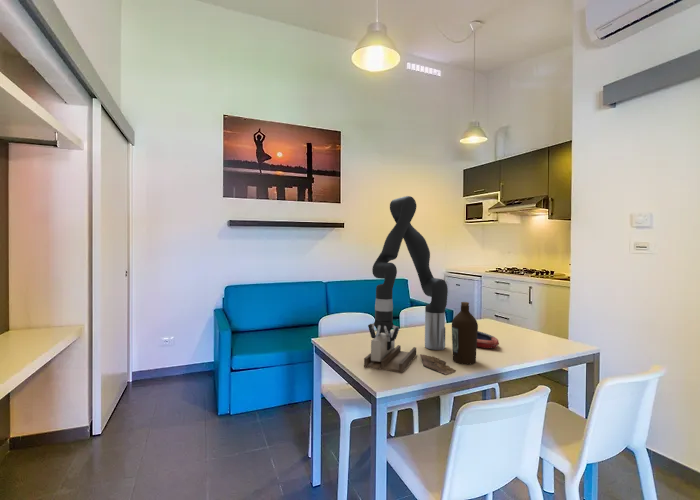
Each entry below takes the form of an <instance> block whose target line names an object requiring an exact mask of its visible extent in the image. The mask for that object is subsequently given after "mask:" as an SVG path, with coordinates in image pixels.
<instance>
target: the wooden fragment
mask: <svg viewBox="0 0 700 500" xmlns="http://www.w3.org/2000/svg"><path fill="white" fill-rule="evenodd" d="M419 356H420V359H421V362H422V365H423V367H426V368H428V369H431V370H433V371H435V372H439V373H442V374H445V376H448V375H452V374H454V373H455V372H456V371H457V370H456V369H454V368H452V367H450V365H447V362H446V361H445V360H442V359H440V358H439V357H435V356H433V355H432V356H430V355H425V354H422V353H421V354H419Z"/></svg>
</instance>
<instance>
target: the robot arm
mask: <svg viewBox="0 0 700 500" xmlns="http://www.w3.org/2000/svg"><path fill="white" fill-rule="evenodd" d="M389 211H390V214H391V216H392V218H393V221H394V222H395V225H394V226H393V227H392V229H391V230H390V231H389V233H388V234H387V236H386V238H385V241H384V244H383V246H382V250H381V252H380V254H379V255H378V257H377V258H376V259H375V261H374V263H373V266H372V270H371V271H372V272H371V273H372V274H373V275H372V276H373V277H375V278H376V279H382V280H383V283H381V284H377V285H376V288H375V302H374V303H375V304H374V322H373V323H369V324H368V325H367V327H368V330H369V334H370V337H371V339H374V338H375V337H377V336H379V335H380V334H381V333H385V334H386V337H387V340H388V342H387V350H390V349H391V345H392V341H394V340H395V341H396V340H397V336H398V333H399V331H400V326H396V325H394V324H395V323H394V322H393V319H394V318H393V315H394V313H393V311H394V310H393V309H394V303H393V290H394V289H393V288H394V285H395V281H396V278H397V273H398V270H397V266H396V264H394V263H393V262H390V261H394V260H396V259H397V258H398V256H399V252H400V249H401V245H402V241H403V240H404V243H405V245H406V248H407V251H408V253H409V256H410V257H411V260H412V263H413V266H414V268H415V270H416V273H417V276H418V280H419V284H420V286H421V289H422V292H423V294H424V295H426V296H427V297H430V298H431V299H430V303H429V304H426V305H425V306H424V307H425V310H424V314H425V315H424V348H426V349H429V350H433V351H435V350H436V351H441V350H442V351H444V349H445V348H446V326H445V324H446V308H447V305H448V294H449V293H448V284H447V282H446V281H445V280H444V279H442V278H436V277H434V276H433V273H432V271H431V268H430V262H431V261H430V260H431V251H430V248H429V246H428V243H427V241H426V238H425V237H424V236H423V235H422V234H421V233H420V232H419V231H418V230H417V229H416V228H415V227H414V226H413V224H412V223H411V222H412V220H413V218H414V216H415V214H416V212H417V203H416V200H415V198H414V197H412V196H410V195H406V196H402V197H401V196H400V197H398V198H395V199H392V200H391V201H390V203H389ZM375 329H376V332H375ZM392 329H393V330H392ZM390 330H392V331H394V334H393V336H392V337H391V331H390Z"/></svg>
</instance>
